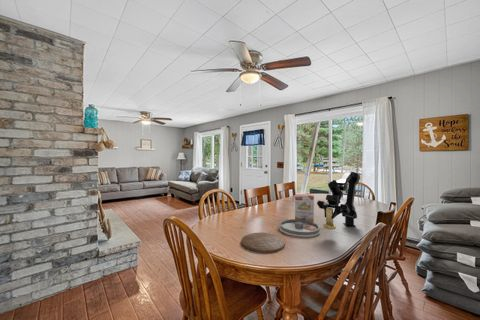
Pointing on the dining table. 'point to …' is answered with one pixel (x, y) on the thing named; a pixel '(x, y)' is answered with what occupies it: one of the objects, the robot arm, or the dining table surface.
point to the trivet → (263, 242)
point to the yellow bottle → (329, 219)
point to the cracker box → (304, 207)
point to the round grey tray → (299, 228)
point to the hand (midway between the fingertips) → (328, 217)
